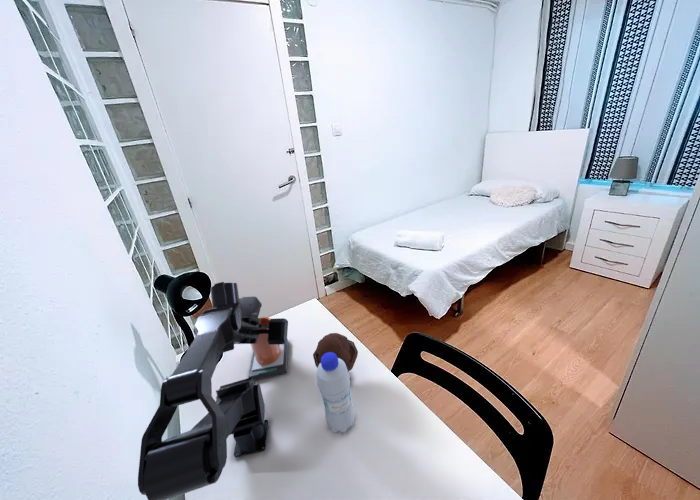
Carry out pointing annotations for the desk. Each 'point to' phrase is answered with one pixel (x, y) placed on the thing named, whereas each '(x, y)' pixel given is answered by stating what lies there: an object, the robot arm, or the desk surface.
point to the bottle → (335, 392)
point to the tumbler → (265, 347)
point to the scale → (270, 365)
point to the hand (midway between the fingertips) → (264, 333)
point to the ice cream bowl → (336, 349)
